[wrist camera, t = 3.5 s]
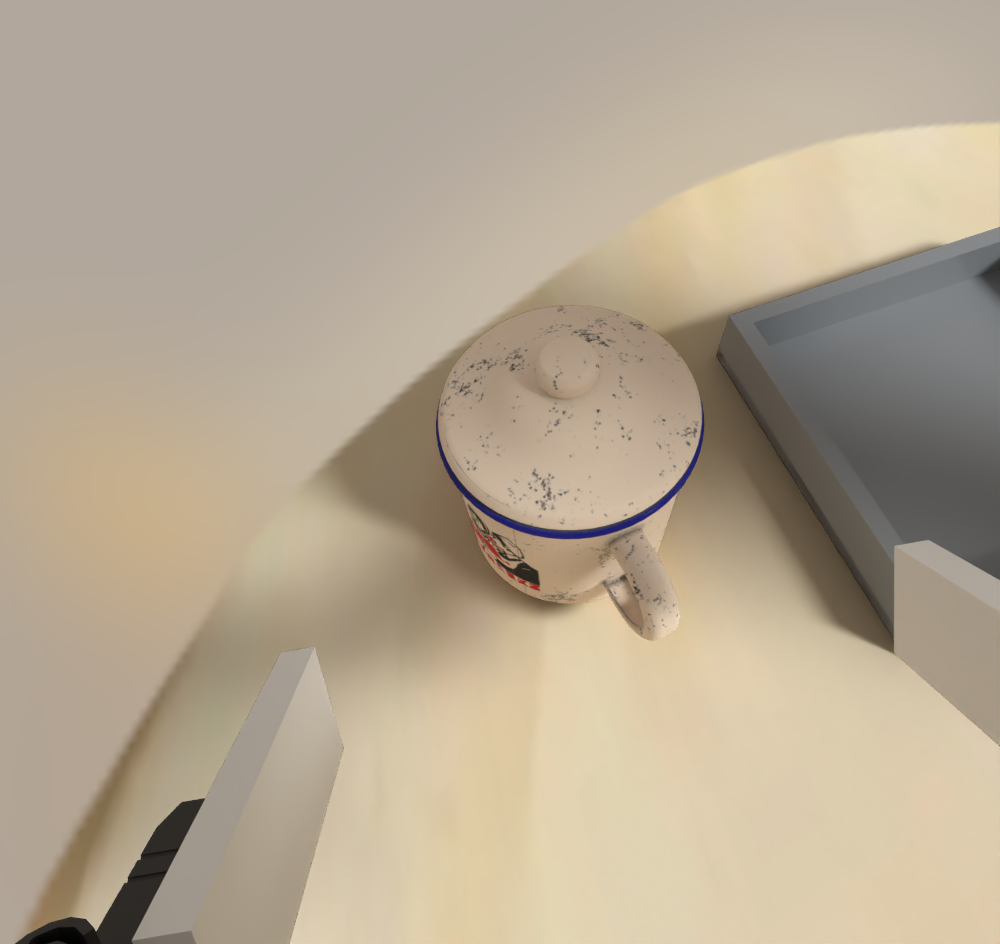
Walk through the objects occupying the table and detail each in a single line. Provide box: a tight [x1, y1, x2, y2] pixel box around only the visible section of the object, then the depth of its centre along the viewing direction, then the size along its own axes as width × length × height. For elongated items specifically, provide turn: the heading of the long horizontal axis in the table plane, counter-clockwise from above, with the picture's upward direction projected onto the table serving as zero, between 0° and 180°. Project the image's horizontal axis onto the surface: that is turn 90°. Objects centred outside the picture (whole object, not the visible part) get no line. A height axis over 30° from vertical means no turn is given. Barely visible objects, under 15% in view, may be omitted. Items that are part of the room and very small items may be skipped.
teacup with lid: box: [436, 305, 704, 641], centre depth 24 cm, size 12×9×12 cm
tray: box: [716, 227, 1000, 639], centre depth 28 cm, size 16×16×3 cm
